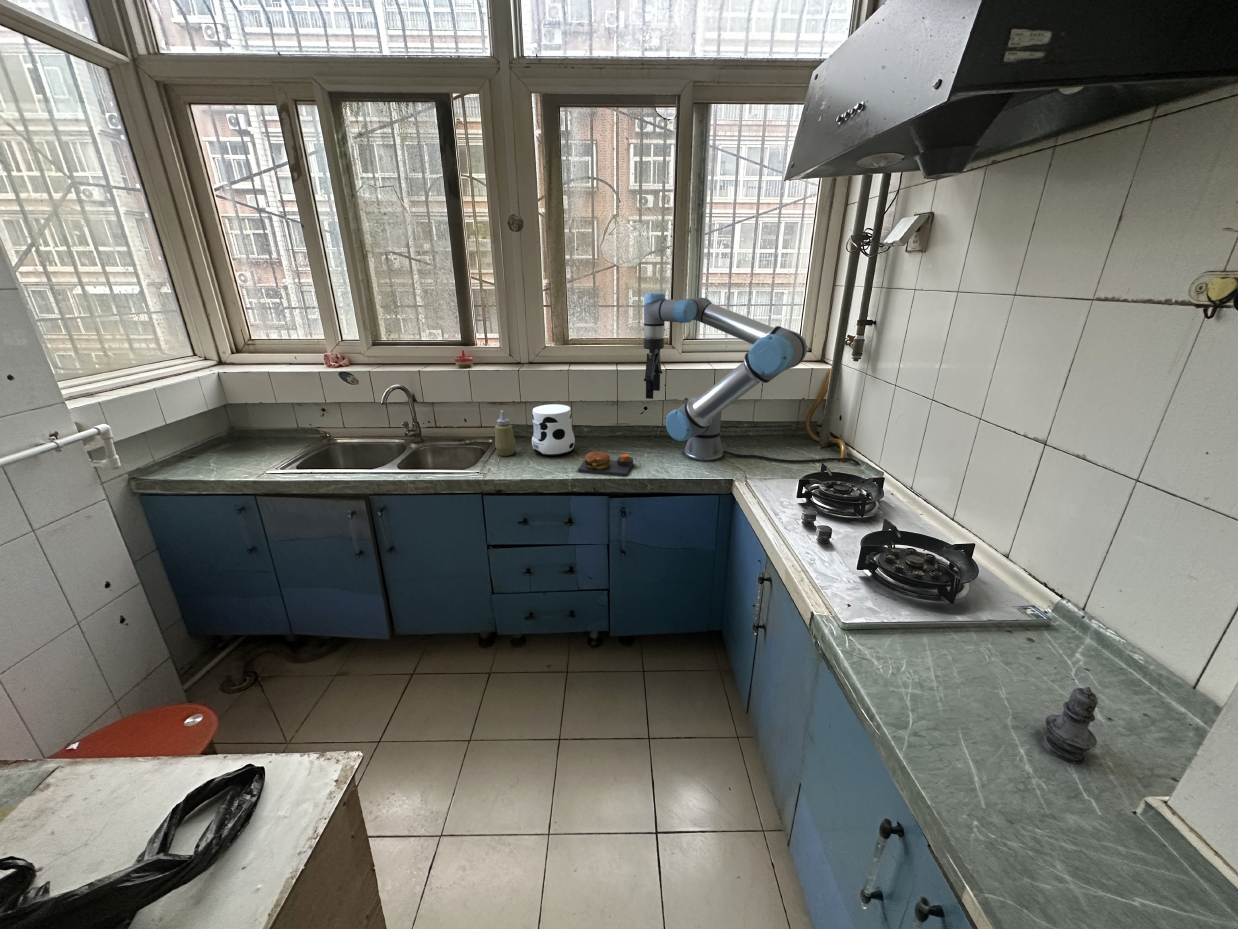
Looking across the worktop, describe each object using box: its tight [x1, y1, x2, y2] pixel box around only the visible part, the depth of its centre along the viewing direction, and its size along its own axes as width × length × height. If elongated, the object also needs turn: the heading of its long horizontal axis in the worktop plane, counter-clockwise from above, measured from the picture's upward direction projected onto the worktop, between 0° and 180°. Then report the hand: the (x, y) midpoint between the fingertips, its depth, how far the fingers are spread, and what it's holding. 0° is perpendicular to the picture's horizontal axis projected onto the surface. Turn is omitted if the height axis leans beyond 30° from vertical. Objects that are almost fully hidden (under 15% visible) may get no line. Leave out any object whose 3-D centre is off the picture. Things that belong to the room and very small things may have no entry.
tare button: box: [620, 453, 630, 461], centre depth 187 cm, size 3×3×2 cm
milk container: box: [531, 403, 576, 457], centre depth 201 cm, size 17×17×18 cm
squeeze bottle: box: [494, 410, 516, 457], centre depth 199 cm, size 8×8×18 cm
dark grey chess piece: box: [1040, 686, 1099, 765], centre depth 74 cm, size 6×6×12 cm
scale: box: [577, 456, 634, 477], centre depth 186 cm, size 18×12×3 cm
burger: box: [583, 451, 612, 469], centre depth 185 cm, size 10×9×5 cm
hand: (653, 394), depth 190 cm, fingers open, 13 cm apart
